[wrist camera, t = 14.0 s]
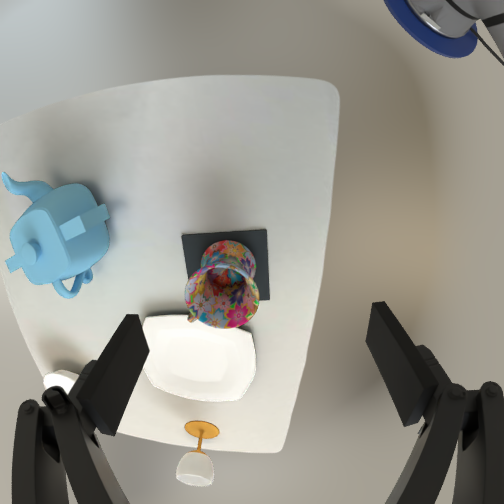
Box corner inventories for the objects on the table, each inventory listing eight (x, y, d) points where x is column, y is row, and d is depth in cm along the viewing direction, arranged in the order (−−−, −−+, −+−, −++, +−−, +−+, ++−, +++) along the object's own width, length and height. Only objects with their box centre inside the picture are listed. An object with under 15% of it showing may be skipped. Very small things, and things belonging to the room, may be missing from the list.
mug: (227, 223, 42) (219, 248, 32) (271, 264, 44) (275, 299, 35) (177, 274, 45) (158, 309, 35) (218, 309, 48) (210, 350, 38)
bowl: (42, 352, 55) (31, 367, 49) (99, 361, 54) (88, 380, 48) (72, 402, 62) (64, 417, 56) (127, 414, 61) (121, 431, 55)
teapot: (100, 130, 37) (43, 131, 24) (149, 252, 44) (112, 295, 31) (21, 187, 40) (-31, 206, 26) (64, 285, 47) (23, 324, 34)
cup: (216, 440, 64) (211, 489, 49) (183, 433, 63) (174, 482, 49) (221, 424, 61) (216, 478, 46) (186, 417, 60) (175, 470, 45)
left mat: (266, 229, 43) (266, 230, 42) (269, 298, 47) (269, 300, 47) (181, 234, 43) (181, 235, 43) (193, 301, 48) (192, 303, 47)
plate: (265, 318, 49) (265, 325, 47) (248, 400, 57) (247, 407, 55) (137, 299, 48) (133, 305, 46) (146, 384, 56) (144, 390, 54)
